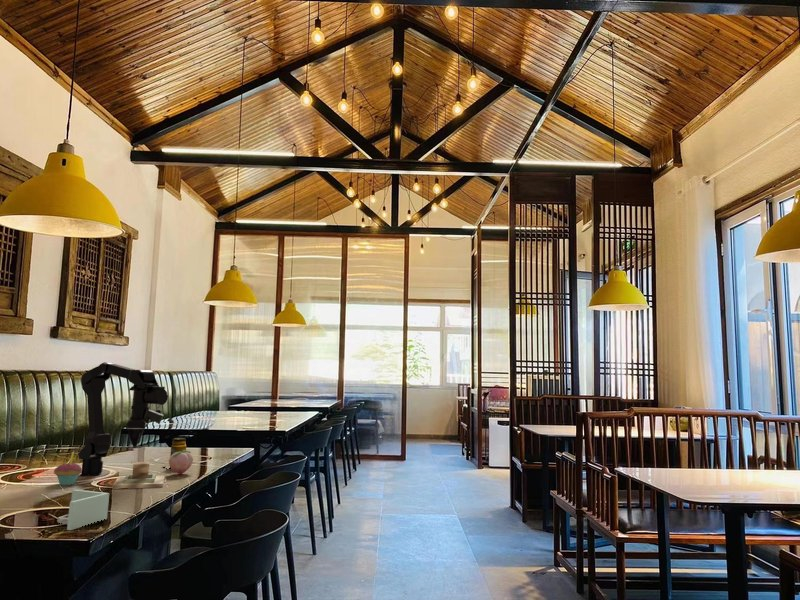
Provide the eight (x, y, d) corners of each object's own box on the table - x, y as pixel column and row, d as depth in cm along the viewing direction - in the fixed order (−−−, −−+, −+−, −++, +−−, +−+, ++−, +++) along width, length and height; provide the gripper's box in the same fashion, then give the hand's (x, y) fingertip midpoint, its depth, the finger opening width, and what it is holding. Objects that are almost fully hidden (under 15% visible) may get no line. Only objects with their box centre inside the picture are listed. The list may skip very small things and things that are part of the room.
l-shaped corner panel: (72, 517, 157) (74, 489, 158) (106, 521, 154) (109, 493, 155) (33, 527, 146) (36, 498, 147) (70, 532, 142) (73, 502, 143)
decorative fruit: (177, 471, 226) (178, 446, 227) (195, 473, 224) (197, 447, 226) (162, 475, 217) (164, 449, 218) (181, 477, 215) (183, 450, 217)
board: (112, 489, 191) (112, 481, 192) (117, 480, 206) (118, 473, 206) (162, 486, 197) (163, 479, 197) (164, 478, 212) (165, 472, 212)
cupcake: (85, 483, 200) (89, 448, 201) (63, 487, 192) (66, 451, 194) (70, 480, 203) (73, 447, 205) (47, 484, 196) (50, 449, 197)
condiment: (188, 467, 236) (190, 438, 238) (168, 469, 230) (170, 440, 232) (181, 465, 241) (183, 437, 243) (161, 467, 236) (163, 438, 237)
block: (131, 481, 198) (133, 464, 199) (133, 479, 203) (134, 462, 204) (147, 481, 200) (148, 463, 201) (148, 478, 205) (149, 461, 206)
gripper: (161, 405, 206) (157, 448, 205) (165, 401, 224) (161, 441, 222) (128, 404, 203) (123, 448, 201) (134, 401, 220) (130, 441, 218)
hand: (136, 445), depth 211 cm, fingers open, 9 cm apart
